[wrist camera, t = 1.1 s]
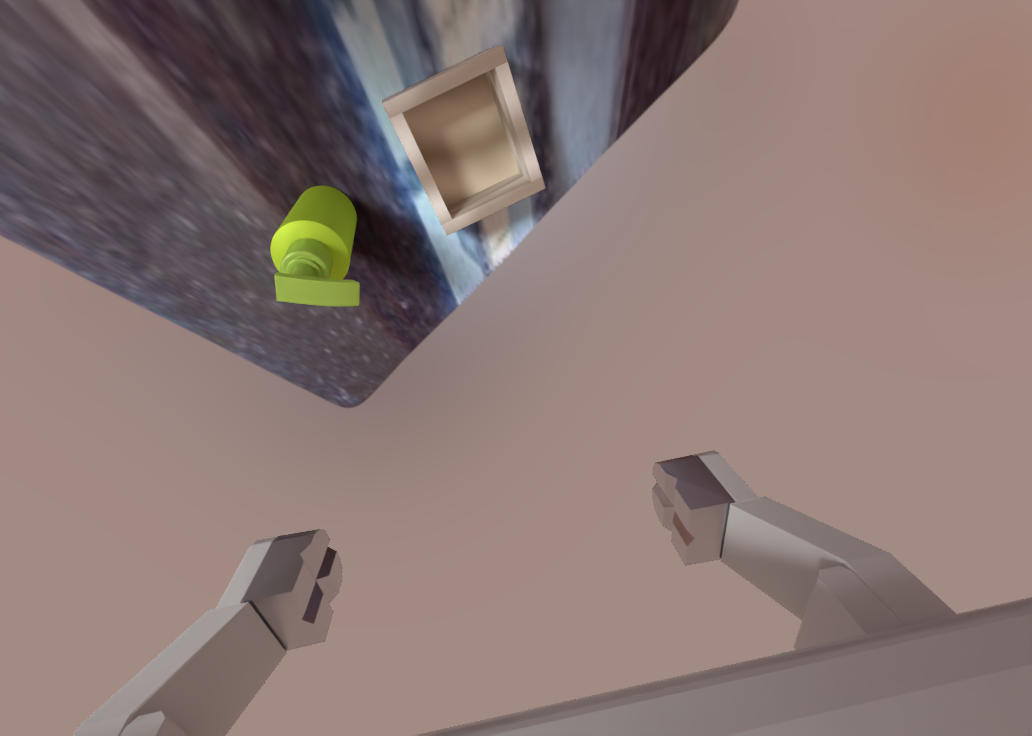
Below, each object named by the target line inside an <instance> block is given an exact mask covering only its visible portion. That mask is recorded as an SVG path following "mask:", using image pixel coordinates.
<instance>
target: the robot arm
mask: <svg viewBox="0 0 1032 736" xmlns="http://www.w3.org/2000/svg"><path fill="white" fill-rule="evenodd" d="M653 476H654V477H655V479H656V481H657V483H656V484H655V485H654V487H653V488H652V490H653V491H652V494H653V495H652V497H653V503H654V507H655V511H656V513H657V516H658V518H659V520H660V521H661V523H662V525H663V526H664V527H665V528H667V529H669V530H670V531H672V543H673V545H674V547H675V549H676V550H677V552H678V554H679V556H680V557H681V559H682V561H683V563H684V564H685V565H691V564H697V563H703V562H708V561H713V560H719V559H721V562H723V563H724V564H725V565H727V566H728V567H730V568H731V569H733V570H734V571H735V572H736V573H738V574H739V575H741V576H742V577H743V578H745V579H746V580H747V581H749V582H750V583H752V584H753V585H754V586H756V587H757V588H758V589H760V590H761V591H762V592H764V593H765V594H767V595H768V596H769V597H771V598H772V599H774V600H775V601H776V602H778V603H779V604H780V605H782V606H783V607H785V608H786V609H787V610H789V611H790V612H791V613H793V614H794V615H795V616H797V617H798V618H799V619H801V620H802V622H801V625H800V628H799V631H798V634H797V637H796V641H795V644H794V648H795V649H796V650H794V651H789V652H785V653H781V654H777V655H772V656H768V657H763V658H758V659H754V660H750V661H745V662H740V663H736V664H731V665H727V666H723V667H718V668H713V669H709V670H704V671H700V672H695V673H691V674H686V675H682V676H677V677H673V678H669V679H664V680H660V681H655V682H651V683H646V684H642V685H637V686H633V687H628V688H624V689H619V690H615V691H610V692H606V693H601V694H597V695H592V696H588V697H583V698H579V699H574V700H570V701H565V702H561V703H556V704H552V705H547V706H543V707H538V708H534V709H529V710H525V711H521V712H516V713H512V714H507V715H503V716H498V717H494V718H489V719H485V720H480V721H476V722H471V723H467V724H463V725H458V726H454V727H449V728H445V729H440V730H436V731H431V732H427V733H422V734H419V735H413V736H1032V597H1030V598H1026V599H1021V600H1017V601H1012V602H1008V603H1003V604H999V605H994V606H990V607H985V608H981V609H977V610H972V611H968V612H963V613H959V614H956V613H955V612H954V611H953V610H952V609H951V608H950V607H948V606H947V605H946V604H945V603H944V602H943V601H942V600H941V599H940V598H939V597H938V596H937V595H935V594H934V593H933V592H932V591H931V590H930V589H929V588H928V587H927V586H926V585H924V584H923V583H922V582H921V581H920V580H919V579H918V578H917V577H916V576H915V575H913V574H912V573H911V572H910V571H909V570H908V569H907V568H906V567H905V566H904V565H903V564H901V563H900V562H899V561H898V560H897V559H896V558H895V557H894V556H893V555H892V554H890V553H889V552H886V551H884V550H882V549H879V548H878V547H875V546H873V545H871V544H869V543H866V542H864V541H862V540H860V539H858V538H856V537H853V536H851V535H849V534H847V533H845V532H842V531H840V530H838V529H836V528H834V527H831V526H829V525H827V524H825V523H823V522H820V521H818V520H816V519H814V518H812V517H809V516H807V515H805V514H803V513H801V512H798V511H796V510H794V509H792V508H790V507H787V506H785V505H783V504H781V503H779V502H776V501H774V500H772V499H770V498H768V497H758V496H757V495H756V494H755V493H754V491H753V490H752V489H751V488H750V487H749V486H748V485H747V484H746V482H745V481H744V480H743V479H742V478H741V477H740V476H739V475H738V474H737V473H736V471H735V470H734V469H733V468H732V467H731V466H730V465H729V464H728V463H727V462H726V460H725V459H724V458H722V456H721V455H720V454H719V453H718V452H716V451H714V450H713V451H708V452H704V453H699V454H695V455H690V456H685V457H680V458H675V459H670V460H665V461H661V462H656V463H655V464H654V466H653ZM329 541H330V538H329V536H328V535H327V533H326V531H325V530H322V529H318V530H312V531H306V532H301V533H295V534H289V535H283V536H278V537H274V538H268V539H262V540H257V541H256V542H254V543H253V544H252V545H251V546H250V547H249V549H248V551H247V552H246V554H245V556H244V558H243V560H242V562H241V564H240V565H239V567H238V569H237V571H236V573H235V575H234V576H233V578H232V580H231V582H230V584H229V585H228V587H227V589H226V591H225V593H224V595H223V597H222V598H221V600H220V602H219V604H218V605H217V607H216V608H215V609H211V610H208V611H207V612H206V613H205V614H204V615H203V616H201V617H200V618H199V619H198V620H197V621H196V622H195V623H194V624H192V625H191V626H190V627H189V628H188V629H187V630H186V631H185V632H184V633H182V634H181V635H180V636H179V637H178V638H177V639H176V640H175V641H173V642H172V643H171V644H170V645H169V646H168V647H167V648H166V649H164V650H163V651H162V652H161V653H160V654H159V655H158V656H157V657H156V658H155V659H154V660H152V661H151V662H150V663H149V664H148V665H147V666H145V667H144V668H143V669H142V670H141V671H140V672H139V673H138V674H136V675H135V676H134V677H133V678H132V679H131V680H130V681H129V682H128V683H126V684H125V685H124V686H123V687H122V688H121V689H120V690H119V691H118V692H116V693H115V694H114V695H113V696H112V697H111V698H110V699H109V700H107V701H106V702H105V703H104V704H103V705H102V706H101V707H100V708H98V709H97V710H96V711H95V712H94V713H93V714H92V715H91V716H90V717H88V718H87V719H86V720H85V721H84V722H83V723H82V724H81V725H79V726H78V728H77V729H76V731H75V732H74V734H73V735H72V736H225V735H226V734H227V733H228V731H229V730H230V728H231V727H232V726H233V724H234V723H235V722H236V720H237V719H238V718H239V716H240V715H241V714H242V712H243V711H244V710H245V708H246V707H247V706H248V704H249V703H250V702H251V700H252V699H253V698H254V696H255V695H256V693H257V692H258V691H259V689H260V688H261V687H262V686H263V684H264V683H265V681H266V680H267V679H268V677H269V676H270V675H271V673H272V672H273V671H274V669H275V668H276V667H277V665H278V664H279V663H280V661H281V660H282V659H283V657H284V656H285V655H286V651H287V650H292V649H295V648H299V647H304V646H308V645H312V644H316V643H320V642H325V640H326V636H327V633H328V629H329V626H330V622H331V619H332V615H333V609H332V607H331V606H330V604H329V603H330V602H331V601H332V600H333V599H334V597H335V596H336V595H337V594H338V593H339V589H340V586H341V582H342V564H341V560H340V557H339V555H338V553H337V551H335V550H333V549H331V548H329V547H328V543H329Z"/></svg>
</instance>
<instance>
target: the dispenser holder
mask: <svg viewBox="0 0 1032 736" xmlns="http://www.w3.org/2000/svg"><path fill="white" fill-rule="evenodd" d="M382 104H383V106H384V108H385V110H386V112H387V114H388V117H389V119H390V121H391V123H392V125H393V127H394V129H395V131H396V133H397V135H398V137H399V139H400V141H401V143H402V145H403V147H404V149H405V151H406V153H407V155H408V157H409V159H410V161H411V163H412V165H413V167H414V169H415V171H416V173H417V175H418V178H419V180H420V182H421V184H422V186H423V188H424V190H425V192H426V194H427V196H428V198H429V200H430V202H431V204H432V206H433V208H434V210H435V212H436V214H437V216H438V218H439V220H440V222H441V224H442V226H443V228H444V230H445V232H446V234H447V235H449V234H451V233H454V232H456V231H458V230H460V229H462V228H464V227H466V226H468V225H470V224H472V223H474V222H477V221H479V220H481V219H483V218H485V217H487V216H489V215H491V214H493V213H495V212H497V211H499V210H502V209H504V208H506V207H508V206H510V205H512V204H514V203H516V202H518V201H520V200H522V199H524V198H527V197H529V196H531V195H533V194H535V193H537V192H539V191H541V190H543V189H545V185H544V181H543V178H542V175H541V171H540V168H539V165H538V161H537V158H536V155H535V151H534V148H533V145H532V141H531V138H530V135H529V131H528V128H527V125H526V121H525V118H524V115H523V111H522V108H521V105H520V101H519V98H518V95H517V91H516V88H515V85H514V81H513V78H512V74H511V71H510V68H509V64H508V61H507V58H506V54H505V51H504V48H503V45H501V46H497V47H494V48H490V49H487V50H485V51H483V52H481V53H479V54H477V55H474V56H472V57H470V58H468V59H466V60H464V61H462V62H460V63H458V64H456V65H454V66H452V67H450V68H448V69H445V70H443V71H441V72H439V73H437V74H435V75H433V76H431V77H429V78H427V79H425V80H423V81H421V82H419V83H417V84H414V85H412V86H410V87H408V88H406V89H404V90H402V91H400V92H398V93H396V94H394V95H392V96H390V97H388V98H385V99H383V100H382Z"/></svg>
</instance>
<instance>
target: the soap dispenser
mask: <svg viewBox="0 0 1032 736" xmlns="http://www.w3.org/2000/svg"><path fill="white" fill-rule="evenodd" d="M356 223H357V215H356V211H355V208H354V206H353V204H352V202H351V201H350V200H349V198H348V197H347V196H346V195H345V194H343V193H342V192H341V191H339V190H337V189H335V188H332V187H329V186H314V187H311V188H309V189H307V190H306V191H305V192H304V193H303V194H302V195H301V196H300V198H299V199H298V201H297V202H296V204H295V205H294V207H293V208H292V210H291V211H290V212H289V214H288V215H287V217H286V218H285V220H284V221H283V223H282V224H281V226H280V227H279V229H278V230H277V232H276V233H275V235H274V236H273V239H272V242H271V256H272V259H273V262H274V264H275V266H276V268H277V269H278V270H279V272H280V273H277V272H276V274H275V286H276V297H277V301H283V302H291V303H300V304H309V305H320V306H358V305H359V289H360V284H359V282H357V281H355V280H342V279H343V278H344V277H345V275H346V274H347V271H348V269H349V264H350V258H351V252H352V246H353V240H354V235H355V229H356Z"/></svg>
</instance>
